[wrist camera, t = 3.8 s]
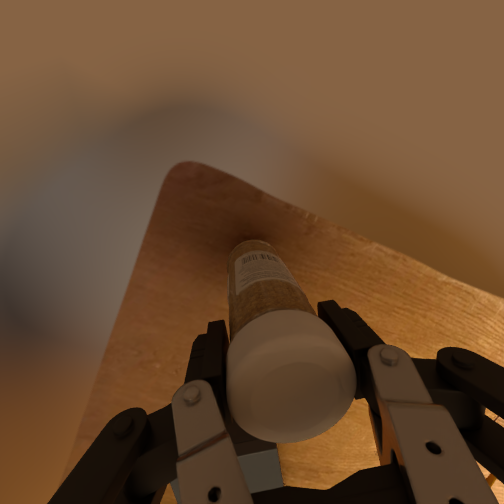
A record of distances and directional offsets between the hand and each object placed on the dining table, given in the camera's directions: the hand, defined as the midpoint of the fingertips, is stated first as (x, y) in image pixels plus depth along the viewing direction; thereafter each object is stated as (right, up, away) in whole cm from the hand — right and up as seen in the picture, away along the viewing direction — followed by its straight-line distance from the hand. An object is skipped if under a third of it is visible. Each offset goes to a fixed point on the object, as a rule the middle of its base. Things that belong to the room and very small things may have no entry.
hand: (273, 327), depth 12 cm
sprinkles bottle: (-1, +3, +9) cm, 10 cm away
